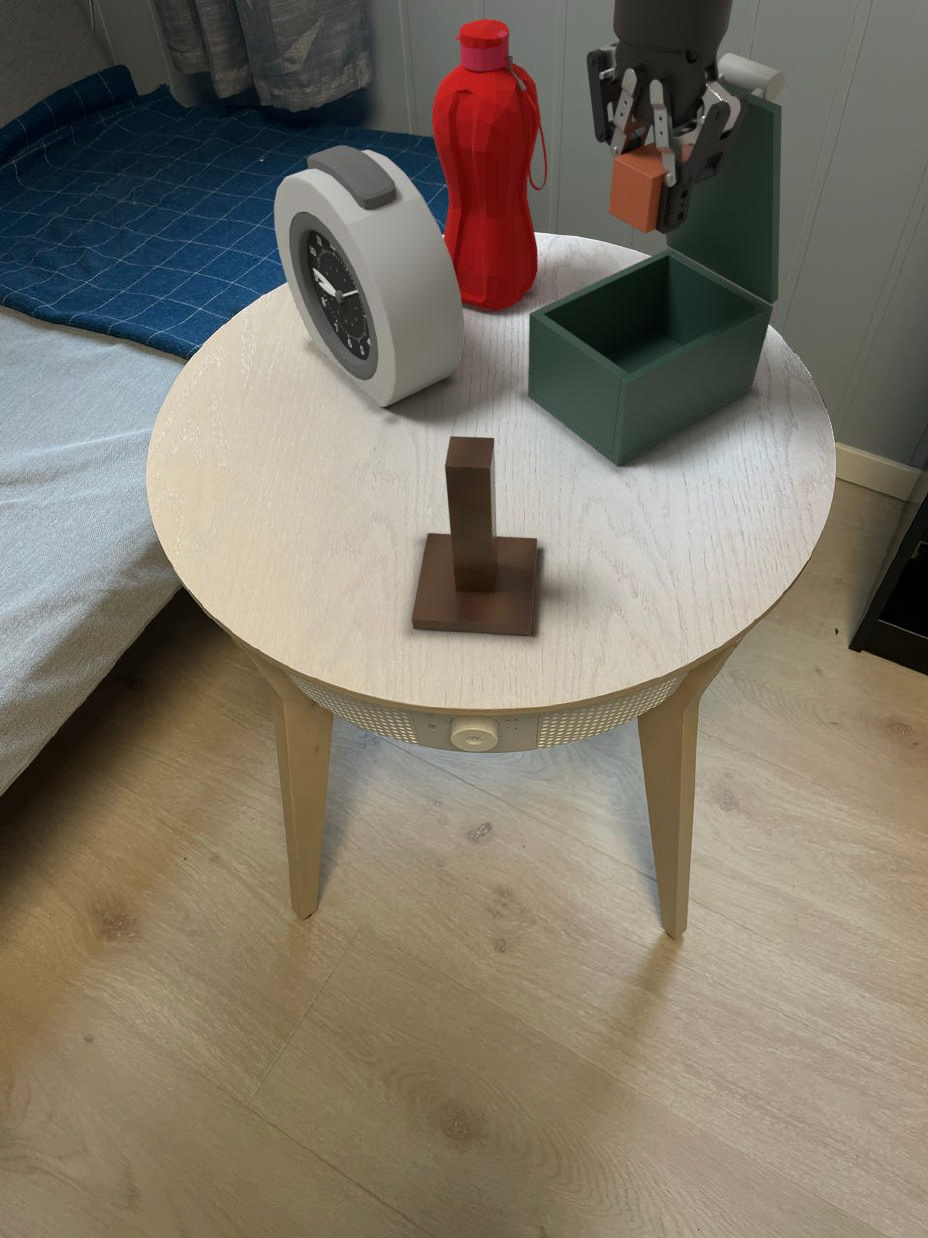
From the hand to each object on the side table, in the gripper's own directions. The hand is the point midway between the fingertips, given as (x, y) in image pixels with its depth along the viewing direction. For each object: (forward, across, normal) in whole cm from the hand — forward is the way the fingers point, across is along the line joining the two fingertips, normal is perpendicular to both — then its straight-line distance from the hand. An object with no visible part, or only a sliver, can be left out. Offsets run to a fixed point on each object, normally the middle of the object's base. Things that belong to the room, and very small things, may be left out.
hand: (646, 216), depth 66 cm
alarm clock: (+18, +20, +15) cm, 31 cm away
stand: (+18, -10, +24) cm, 32 cm away
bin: (+18, 0, -2) cm, 18 cm away
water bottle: (+18, +23, -2) cm, 29 cm away
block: (0, 0, 0) cm, 0 cm away
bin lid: (0, 0, -7) cm, 7 cm away
